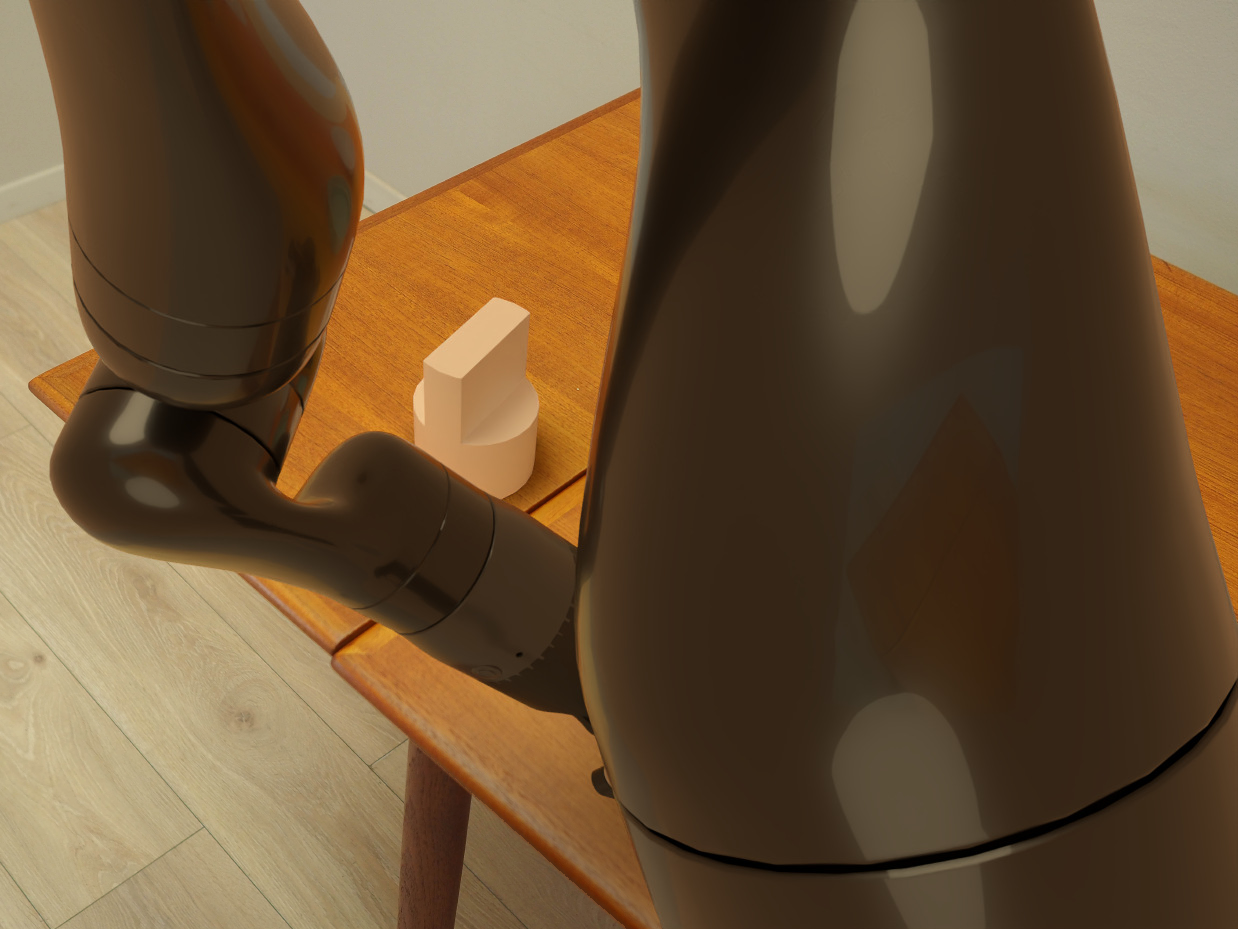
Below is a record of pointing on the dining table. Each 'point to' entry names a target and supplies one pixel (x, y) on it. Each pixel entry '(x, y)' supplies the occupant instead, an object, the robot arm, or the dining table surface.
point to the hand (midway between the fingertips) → (713, 721)
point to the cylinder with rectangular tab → (481, 401)
